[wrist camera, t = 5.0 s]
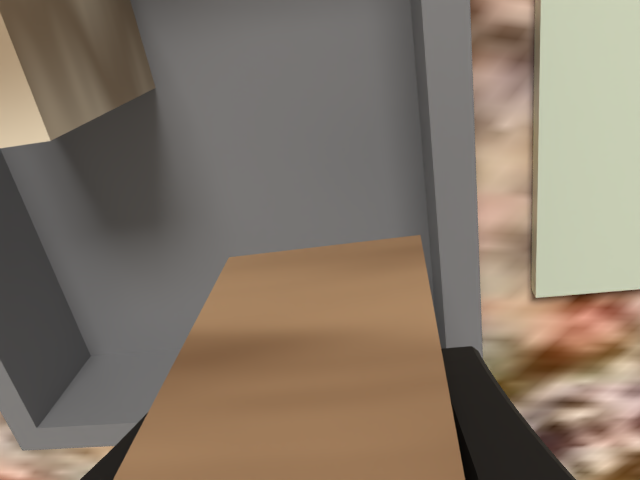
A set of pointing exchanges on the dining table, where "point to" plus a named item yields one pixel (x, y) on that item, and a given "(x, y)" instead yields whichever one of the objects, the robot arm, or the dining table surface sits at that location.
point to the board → (586, 147)
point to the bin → (229, 191)
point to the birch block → (66, 65)
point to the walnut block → (307, 374)
